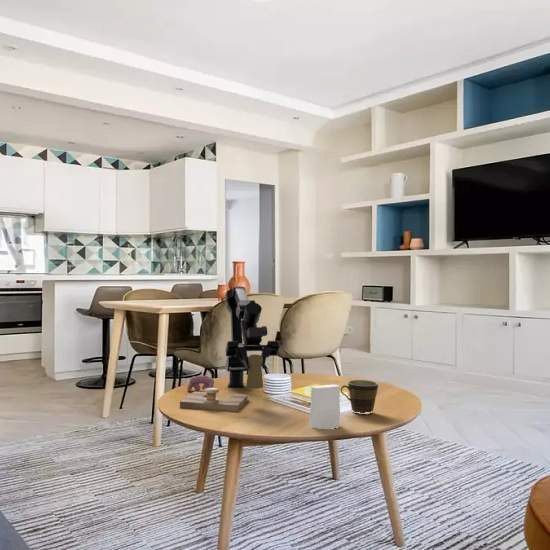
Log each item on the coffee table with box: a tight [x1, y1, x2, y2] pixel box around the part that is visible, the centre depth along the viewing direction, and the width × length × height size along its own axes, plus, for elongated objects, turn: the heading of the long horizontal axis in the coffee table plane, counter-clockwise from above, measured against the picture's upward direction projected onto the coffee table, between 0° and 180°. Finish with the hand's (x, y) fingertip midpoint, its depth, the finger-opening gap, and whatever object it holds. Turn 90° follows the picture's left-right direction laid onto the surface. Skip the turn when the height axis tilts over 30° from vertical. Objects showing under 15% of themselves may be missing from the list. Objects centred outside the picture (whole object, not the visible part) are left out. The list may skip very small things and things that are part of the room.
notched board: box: [179, 387, 249, 412], centre depth 188 cm, size 16×20×6 cm
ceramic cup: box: [340, 379, 379, 413], centre depth 180 cm, size 13×10×10 cm
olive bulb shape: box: [245, 354, 264, 390], centre depth 186 cm, size 6×6×11 cm
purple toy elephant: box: [187, 375, 215, 392], centre depth 208 cm, size 10×5×7 cm, turn 85°
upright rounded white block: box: [309, 383, 341, 430], centre depth 164 cm, size 9×9×12 cm
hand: (255, 368), depth 185 cm, fingers closed on olive bulb shape, 5 cm apart
